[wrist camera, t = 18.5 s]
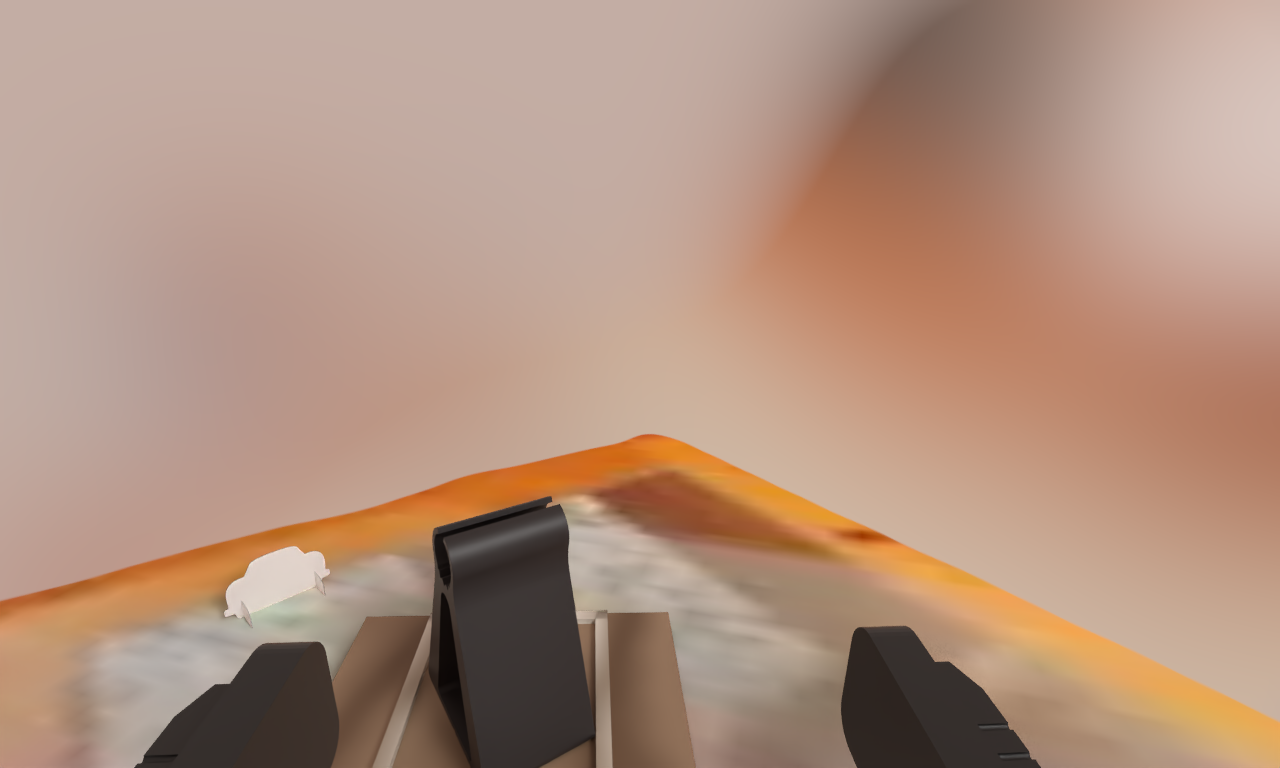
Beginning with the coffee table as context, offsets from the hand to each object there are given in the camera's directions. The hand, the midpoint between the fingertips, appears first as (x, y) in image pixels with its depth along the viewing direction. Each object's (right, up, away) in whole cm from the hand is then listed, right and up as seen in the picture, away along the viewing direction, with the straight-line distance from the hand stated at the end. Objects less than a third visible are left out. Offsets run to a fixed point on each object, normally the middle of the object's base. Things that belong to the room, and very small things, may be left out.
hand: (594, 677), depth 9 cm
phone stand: (-7, -14, +24) cm, 28 cm away
